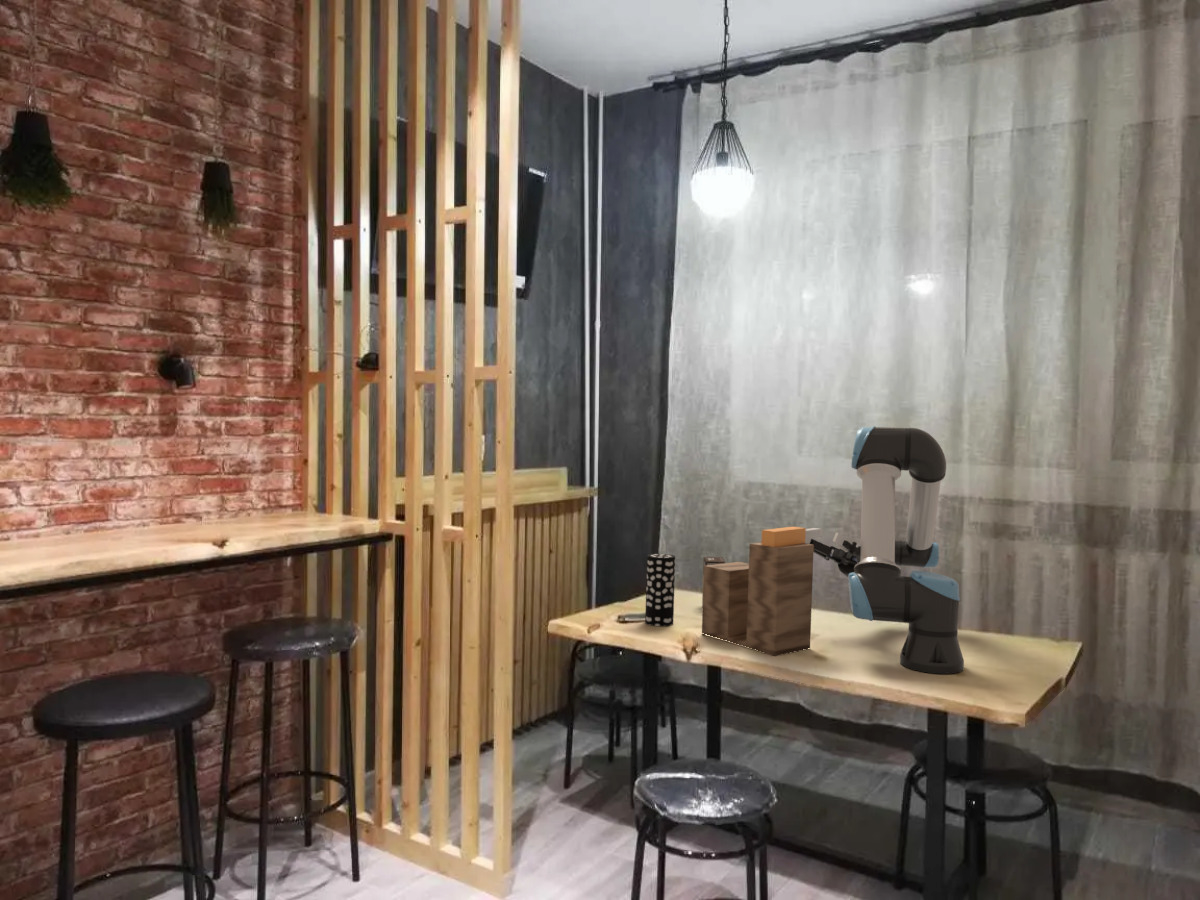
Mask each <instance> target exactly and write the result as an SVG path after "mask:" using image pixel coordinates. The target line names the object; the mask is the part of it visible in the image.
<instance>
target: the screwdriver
mask: <svg viewBox="0 0 1200 900" xmlns="http://www.w3.org/2000/svg"><path fill="white" fill-rule="evenodd" d="M822 535H823V528H817V527H812V528H806V527H800V526H787V527H778V528H776V527H775V528H767V529H761V545H763V546H770V547H778V546H786V545H793V544H801V543H805V539H808V538H812V539H815V538H821V537H822Z"/></svg>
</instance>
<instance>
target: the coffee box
mask: <svg viewBox="0 0 1200 900" xmlns="http://www.w3.org/2000/svg"><path fill="white" fill-rule="evenodd" d="M724 563H726V561H725V559H724V558H723V556H703V564H702V565H703V567H702V568H703V569H702V570H703V571H702V581H703V580H704V566H706V565H715V564H724ZM701 599H702V600H701V601H702V603H701V604H702V607H703V595H702V598H701Z"/></svg>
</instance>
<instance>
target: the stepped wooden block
mask: <svg viewBox="0 0 1200 900" xmlns="http://www.w3.org/2000/svg"><path fill="white" fill-rule="evenodd" d="M813 551H814V545H812V544H806V543H801V544H793V545H786V546H778V547H770V546H763V545H761V542H760V541H759V542H753V543H752V542H751V543H749V553H748V563H746V562H741V561H735V562H725V563H724V564H715V565H706V566H704V580H703V579H702V596H703V606H702V618H701V619H702V621H701V622H702V623H701V634H702V633H704V634H707V635H710V636H713V637H717V638H720V639H723V640H727V641H730V642H733V643H736V644H739V645H743V646H746V647H749V648H752V649H756V650H758V651H757V652H759V651H761V652H760V653H762V652H764V653H763V654H766V653H767V654H766V655H769V654H770V656H772V655H773V657H776V656H777V657H778V656H783V655H787V654H790V652H792V653H795V652H794V651H797V652H800V651H799V650H802V651H804V650H803V649H806V650H809V649H808V648H810V649H811V630H812V607H813V606H812V605H813V603H812V602H813V601H812V600H813V576H814V575H813V573H814V572H813V571H814V570H813V569H814V552H813ZM739 645H738V646H739ZM746 647H745V648H746ZM749 648H748V649H749ZM752 649H751V650H752ZM756 650H755V651H756ZM786 653H787V654H786ZM782 654H783V655H782Z"/></svg>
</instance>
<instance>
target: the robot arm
mask: <svg viewBox="0 0 1200 900" xmlns="http://www.w3.org/2000/svg"><path fill="white" fill-rule="evenodd" d="M851 468H852V469H853V470H856V476H857V477H858V478H859V479H860V480H861V514H860V515H861V518H860V519H861V521H860V522H861V523H860V546H859V545H858V543H857V542H855V541H852V543H851V542H850V541H849V540H847V539H846V538H845V537H844V535H842V534H841V533H840V532H835V534H834V537H833V539H832V542H833V543H834V544H836V545H837V546H838V547H839V548H838V547H835V546H833V545H831V546H829V545H826V544H824V543H822V542H820V541H818V540H815V538H808V539H805V543H806V544H812V545H814V551H813V554H816V555H818V556H820V557H821V558H823V559H824V560H826V561H830V560H831V561H833V562H834V563H836V564H837V566H838V569H839V571H840V572H841V573H842V574H843V575H844V576H846V578H847V579H848V581H847V582H848V594H849V604H850V609H851V613H852V615H853V617H855V618H856V619H861V620H866V621H867V620H868V621H870V622H873V621H879V622H895V623H905V624H908V631H907V632H908V633H907V636H906V639H905V641H904V644H903V646H902V649H901V652H900V657H899V662H900V664H901V665H902V666H903V667H905V668H908V669H910V670H912V671H913V670H914V671H917V672H922V673H929V674H937V673H938V674H939V675H941V674H944V675H951V674H950V673H953V674H958V673H957V672H959V673H961V672H963V671H964V670H963V669H965V667H964V666H965V663H964V662H965V661H964V660H965V659H964V656H963V653H962V650H961V646H960V642H959V638H958V631H959V630H958V629H959V607H960V606H959V603H960V600H961V597H960V586H959V582H958V581H956V579H953V578H952V577H950V576H947V575H943V574H939V573H935V572H931V571H925V570H912V571H911V572H910V574H909V576H905V575H902V570H901V569H902V568H901V567H912V568H936V567H937V566H938V565H939V561H940V559H939V558H940V546H939V543H938V542H934V538H935V537H934V536H935V529H936V520H937V512H938V504H939V497H940V489H941V481H943V480H944V479H945V478H946V472H947V458H946V456H945V453H944V450H943V448H942V447H941V445H940V444H939V442H938V440H936V439H935V438H934V437H933V436H932V435H931V434H930V433H928V432H927V431H925V430H922V429H920V428H915V427H884V426H883V427H880V426H879V427H877V426H870V427H869V426H867V427H866V426H863V427H860V428H858V430H857V431H856V435H855V439H854V444H853V452H852V458H851ZM902 471H905V472H906V471H908V474H909V476H910V478H911V483H910V484H911V487H910V493H909V494H910V495H909V505H908V506H909V507H908V514H907V515H908V517H907V525H906V526H907V527H906V534H905V535H906V536H905V537H906V538H905V540H901V539H900V540H899V539H896V481H897V480H898V479H899V478H900V477H901V476H902ZM857 545H858V546H857ZM832 551H833V552H832ZM900 566H901V567H900ZM962 670H963V671H962ZM960 671H961V672H960Z"/></svg>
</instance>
